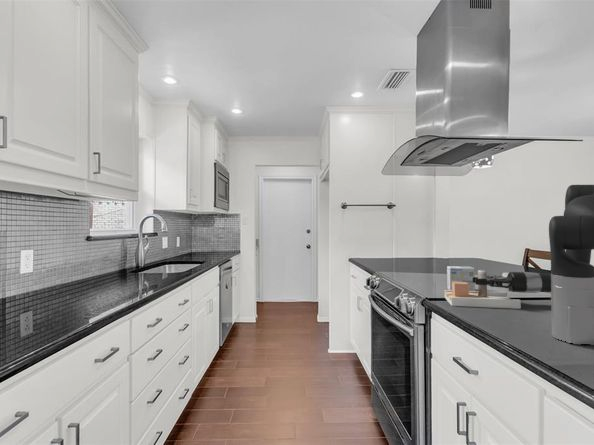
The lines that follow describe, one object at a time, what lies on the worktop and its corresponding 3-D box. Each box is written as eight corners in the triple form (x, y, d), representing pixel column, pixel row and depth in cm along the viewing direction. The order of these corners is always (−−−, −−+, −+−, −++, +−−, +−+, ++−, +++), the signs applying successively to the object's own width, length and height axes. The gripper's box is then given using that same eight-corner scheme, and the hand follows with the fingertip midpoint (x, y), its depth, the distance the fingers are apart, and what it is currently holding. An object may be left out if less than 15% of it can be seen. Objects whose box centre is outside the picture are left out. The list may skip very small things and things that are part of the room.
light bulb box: (471, 288, 154) (470, 265, 154) (475, 291, 147) (475, 268, 147) (446, 288, 156) (446, 265, 156) (450, 291, 149) (449, 267, 149)
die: (522, 294, 144) (529, 275, 147) (503, 284, 145) (510, 265, 148) (511, 296, 152) (517, 278, 155) (493, 287, 153) (499, 269, 156)
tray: (520, 308, 118) (520, 300, 118) (451, 305, 124) (451, 297, 124) (506, 299, 132) (506, 292, 132) (444, 297, 137) (444, 290, 137)
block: (468, 297, 127) (468, 284, 126) (454, 296, 128) (454, 283, 128) (465, 294, 131) (465, 281, 131) (452, 293, 133) (451, 281, 133)
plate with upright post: (491, 302, 122) (491, 272, 122) (450, 300, 125) (450, 271, 125) (482, 295, 132) (482, 268, 132) (445, 294, 136) (444, 268, 136)
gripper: (516, 269, 131) (469, 268, 135) (532, 275, 117) (479, 274, 121) (516, 288, 131) (469, 286, 135) (532, 296, 117) (479, 294, 121)
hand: (474, 280), depth 128 cm, fingers closed on plate with upright post, 3 cm apart
